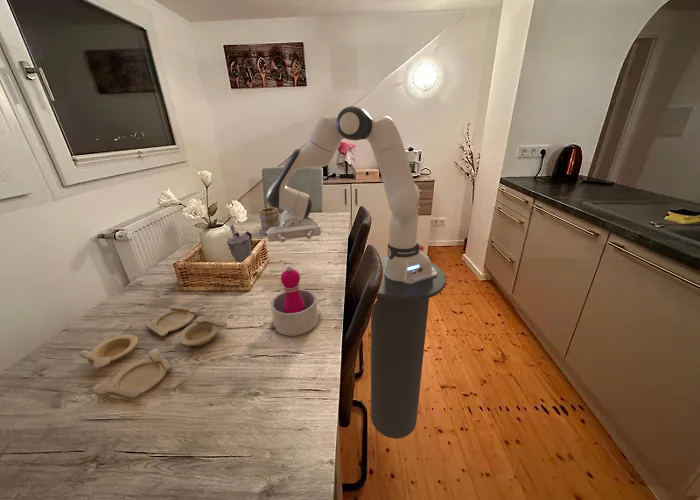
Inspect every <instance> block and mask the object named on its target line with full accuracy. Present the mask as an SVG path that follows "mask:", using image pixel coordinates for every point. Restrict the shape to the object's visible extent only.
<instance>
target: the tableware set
mask: <svg viewBox="0 0 700 500" xmlns="http://www.w3.org/2000/svg"><path fill="white" fill-rule="evenodd" d="M201 310H203V307H202V306H194V307H193V306H192V307H187V306H180V305H175V304H173V305H170V306H169V309H168V310H165V311H163V312H161V313H159V314H158V315H157V316H155V317H154V318H153V319H152V320H151V321H145V322H144V326H145V327H147V328H148V329H149V330H150V332H152V333H154V334H156V335H158V336H160V337H161V338H164V337H166V336H167V335H168V334H169V333H171V332H175V331H178V330H180V329H182V328H184V327H185V326H186V327H185V328H184V329H183V330H181V332H180V333H179V335H178V337H177V340H178V342H179V344H180V345H183V346H185V347H201V346H204V345H207V344H208V343H209V342H210V341H212V339H214V337H215V336H216V335H217V334H218V333H219V332H220V328H226V327H227V326H228V323H227V322H226V321H221V320H215V319H210V317H209V316H208V315H206V314H205V315H200V316H197V318H196V319H195V321H196V322H193V323H191V322H192V321H193V319H194V318H195V314H197V313H199V312H200V311H201ZM190 323H191V324H190ZM188 324H189V325H188ZM187 325H188V326H187ZM138 344H139V337H138V336H137V335H135V334H132V333H131V334H130V333H127V334H126V333H125V334H121V335H116V336H114V337H111V338H108V339H107V340H105V341H102V342H101V343H100V344H98V345H96V346H95V347H94V348H92V349H91V351H88V350H85V349H83V350H80V351H79V352H78V356H79V357H82V358H84V359H86V360H87V361H88V363H90V365H93V367H94V368H96V369H100V368H104V367H106V366H108V365H113V364H116V363H118V362H120V361H122V360H124V359H126V358H127V357H128V356H129V355H130V354H131V352H132V351H133V350H134V349H135V348H136V347H137V346H138ZM148 356H149V357H147V358H143V359H140V360H137V361H135V362H132V363H131V364H129V365H126V366H125V367H124V368H123V369H121V370H120V371H118V372H117V373H116V374H115V375H114V376H113V377H112V378H111V380H110V382H109V383H108V382H103V383H102V384H101V386H98V387H97V389H95V390H93V392H92V393H93V394H95V395H101V396H105V395H108V396H109V397H110V398H112V399H114V400H128V399H132V400H135V399H138V398H139V397H140V396H141V395H142V394H145V393H146V392H148V391H151V390H152V389H153V388H154V387H156V386H157V385H158V384H159V383H160V382H162V380H163V379H164V378H165V376H166V374H167V373H168V372H169V371H170V370H172V369H173V366H172V364H171V362H169V360H167V358H166V357H165V356H164V355H163V354H162V353H161V352H160V350H159V349H158V348H157V347H156V348H153V349H151V350H150V351H149V352H148Z"/></svg>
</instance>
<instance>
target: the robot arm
mask: <svg viewBox="0 0 700 500" xmlns="http://www.w3.org/2000/svg"><path fill="white" fill-rule="evenodd" d="M345 139H346V140H347V141H360V140H367V142H368V143H369V145H370V147H371V150H372V153H373V155H374V156H373V157H374V159H375V161H376V165H377V167H378V170H379V173H380V176H381V180H382V185H383V188H384V192H385V193H384V194H385V196H386V200H387V202H388V207H389V210H390V216H389V217H390V218H389V225H388V227H389V228H388V229H389V230H388V243H387V249H386V250H387V251H386V253H387V256H388V260H387V265H386V269H385V271H384V274H385V276H386V277H387V278H389V279H391V280H394V281H399V282H404V283H407V284H413V283H416V282H419V281H422V280H425V279H429V278H432V277H435V276H437V272H436V270H435V269H434V268H433V267H432V264H431V263H432V260H431V259H432V257H431V256H429V255H427V254H426V253H423V251H424V250H425V246H424V245H422V244H419V243H418V242H417V235H418V233H417V232H418V221H419V209H420V189H419V186H418V185H417V183H415V181H414V178H413V177H414V176H413V174H412V169H411V165H410V161H409V158H408V155H407V151H406V149H405V146H404V143H403V140H402V137H401V135H400V132H399V130H398V128H397V126H396V124H395V121H394V120H393V119H392V118H391V117H390V116H387V115H383V116H378V117H376V118H372V116H371V114H370V113H369V112H368V111H367V110H365V109H364V108H362V107H359V106H354V105H349V106H346V107H344V108H343V109H342V110H340V112H339V113H338V115H337V116H335V115H332V114H323V115H322V116H320V117H319V119H318V120H317V122H316V123H315V125H314V127H313V128H312V131H311V133H310V135H309V137H308V140H307V142H306V143H305V145H303V146H302V147H301V148H296V149H294V151H293V152H292V154H290V156H289V157H288V159H287V161H286V162H285V164H284V166H283V167H282V169H281V171H280V172H279V173H278V175H277V177H276V179H275V181H274V182H273V183H272V184H271V186H270V187H269V189H268V190H267V193H266V201H267V204H269V207H270V208H271V207H273V208H277V210H283V211H282V213H281V215H280V225H279V226H277V227H271V228H269V229H268V230H267V234H266V236H267V241H268V242H280V243H286V240H287V241H288V240H294V239H295V240H296V239H302V238H306V239H307V240H311V239H312V237H318V236H321V235H322V232H321V231H322V230H321V226H320V224H319V223H318V222H317V221H316V220H314V218H313V217H312V216H311V217H309V215H310V214H311V210H312V205H313V201H312V198H311V196H310V195H309V194H308V193H306V192H303V191H300V190H297V189H294V188H292V187H289V186H287V184H288V182H289V180H290V179H291V178H292V176H293V174H294V173H295V172H296V171H297V170H299V169H321V168H324V167H326V166H328V165H329V164H330V163H331V162H332V160H333V158H334V156H335V154H336V151H337V150H338V147H339V145H340V143H341V142H342V141H343V140H345Z"/></svg>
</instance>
